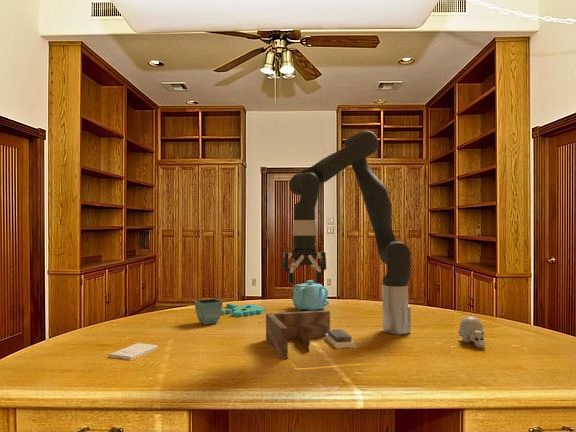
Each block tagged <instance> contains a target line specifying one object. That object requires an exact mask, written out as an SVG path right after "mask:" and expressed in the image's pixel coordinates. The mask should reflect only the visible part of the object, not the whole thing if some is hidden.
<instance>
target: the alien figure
mask: <svg viewBox="0 0 576 432" xmlns="http://www.w3.org/2000/svg"><path fill="white" fill-rule="evenodd" d="M225 306H226V309H222V312H221V316H225V315H231V317H234V318H235V317H237V318H238V317H239V318H242V317H249V316H257V315H262V314H264V313H265V312H266V310H265V309H266V308H265V307H262V306H260V305H258V304H257V305H256V304H251V303H245V304H243V305H242V306H239V305H236V304H234V303H232V302H231V303H226V305H225Z"/></svg>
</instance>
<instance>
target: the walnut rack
mask: <svg viewBox="0 0 576 432" xmlns="http://www.w3.org/2000/svg"><path fill="white" fill-rule="evenodd" d="M265 318H266V319H265V328H266V329H265V341H267V343H268V344H269V346H270V348H272V349H273V351H274V352H275V353H276V355H277V357H279V359H280V360H288V358H289V355H288V353H289V351H288V350H289V349H288V343H289V341H288V339H301V338H300V335H299V332H298V326H299V327H300V330H301V331H302V332H303V333H304V334H305V335H307V336H309V337H310V338H315V337H325V334H328V330H331V311H330V310H328V309H327V310H324V309H323V310H315V311H310V310H306V311H288V312H274V313H273V312H271V313H270V312H269V313H266V315H265Z"/></svg>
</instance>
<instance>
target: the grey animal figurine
mask: <svg viewBox="0 0 576 432" xmlns="http://www.w3.org/2000/svg"><path fill="white" fill-rule="evenodd" d="M457 333H458V336H459V337H461V341H462V342H463V343H465V344H469V343H470V342H471V341H472V343H474V345H475V346H476V348H477V349H482V348H484V346H485V331H484V327H483V323H482V321H481V320H480V319H478V318H477V317H475V316H471V315H470V316H465V317H463V319H461V320H460V323H459V329H458V331H457Z"/></svg>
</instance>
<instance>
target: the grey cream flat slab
mask: <svg viewBox="0 0 576 432" xmlns="http://www.w3.org/2000/svg"><path fill="white" fill-rule="evenodd" d="M323 339H324V341H325V342H327V343H329V344H330V345H331V346H332V347H333V348H335V349H336V350H344V349H345V350H346V349H358V348H359V347H358V346H357V345H355V344H354V347H345V348H336V347H335V346H334V345H333V344H331V343H330V342H329V341H328V340H327V339H326V338H325V336H323Z"/></svg>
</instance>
